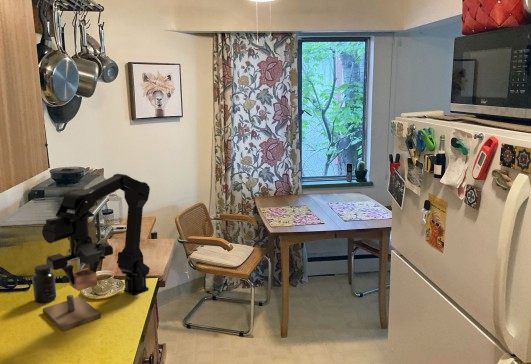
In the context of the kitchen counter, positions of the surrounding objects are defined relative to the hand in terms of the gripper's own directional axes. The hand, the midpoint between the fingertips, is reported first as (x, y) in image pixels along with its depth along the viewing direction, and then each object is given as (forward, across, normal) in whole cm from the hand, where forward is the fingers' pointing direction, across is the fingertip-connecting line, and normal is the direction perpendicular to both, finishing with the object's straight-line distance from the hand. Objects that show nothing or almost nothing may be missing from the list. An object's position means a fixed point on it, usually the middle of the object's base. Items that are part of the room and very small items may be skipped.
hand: (83, 281), depth 140 cm
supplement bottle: (+12, -4, +22) cm, 25 cm away
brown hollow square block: (+1, 0, 0) cm, 1 cm away
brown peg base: (+12, -2, +5) cm, 13 cm away
